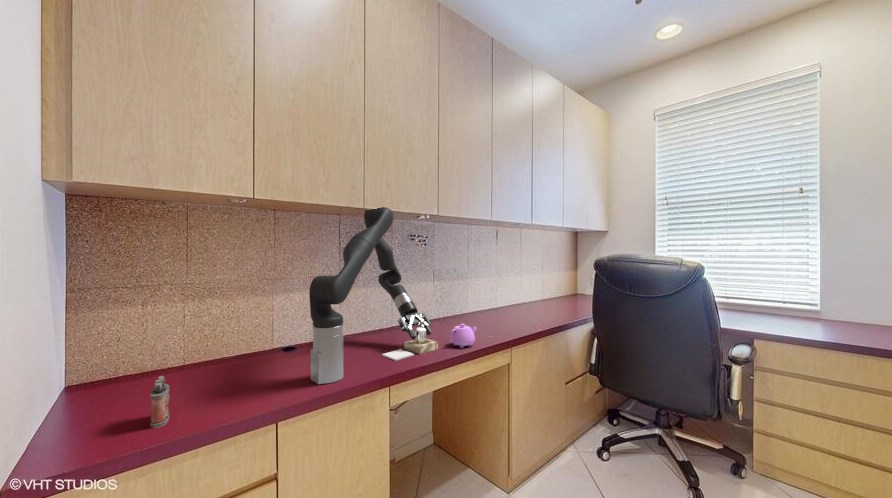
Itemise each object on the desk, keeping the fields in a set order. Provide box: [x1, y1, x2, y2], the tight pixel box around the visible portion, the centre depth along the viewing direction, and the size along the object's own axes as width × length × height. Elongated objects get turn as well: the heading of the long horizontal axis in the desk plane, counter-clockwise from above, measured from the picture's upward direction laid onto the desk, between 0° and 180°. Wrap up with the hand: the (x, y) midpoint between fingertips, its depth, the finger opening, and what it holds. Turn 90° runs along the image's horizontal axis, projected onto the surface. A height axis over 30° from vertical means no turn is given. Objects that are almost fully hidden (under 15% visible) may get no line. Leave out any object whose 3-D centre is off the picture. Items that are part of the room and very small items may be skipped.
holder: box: [403, 337, 439, 355], centre depth 138 cm, size 10×10×3 cm
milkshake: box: [414, 324, 427, 345], centre depth 138 cm, size 4×5×10 cm
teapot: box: [449, 323, 478, 349], centre depth 144 cm, size 10×15×9 cm
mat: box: [381, 348, 415, 362], centre depth 130 cm, size 9×9×1 cm
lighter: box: [149, 375, 170, 429], centre depth 80 cm, size 8×3×10 cm, turn 35°
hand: (422, 336), depth 137 cm, fingers open, 8 cm apart
